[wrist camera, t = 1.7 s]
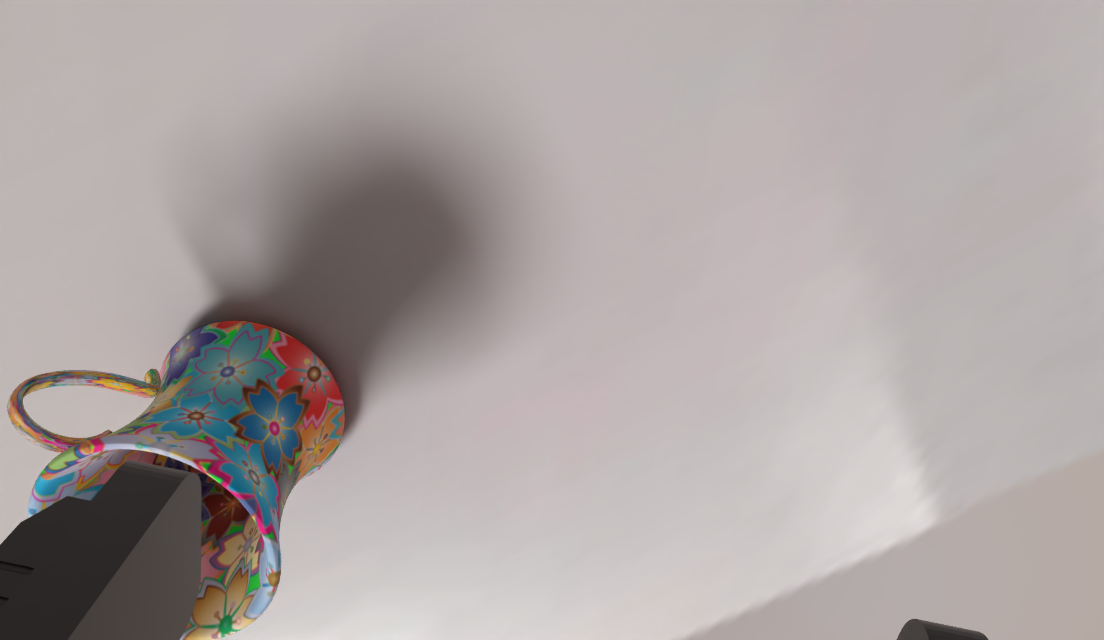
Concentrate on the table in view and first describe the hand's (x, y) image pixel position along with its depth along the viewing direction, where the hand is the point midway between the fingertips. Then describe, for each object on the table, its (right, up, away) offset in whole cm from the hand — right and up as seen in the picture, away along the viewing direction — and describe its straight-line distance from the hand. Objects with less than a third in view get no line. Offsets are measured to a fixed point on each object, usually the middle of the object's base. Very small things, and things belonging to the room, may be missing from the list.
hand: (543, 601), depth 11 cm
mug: (-14, +1, +33) cm, 36 cm away
